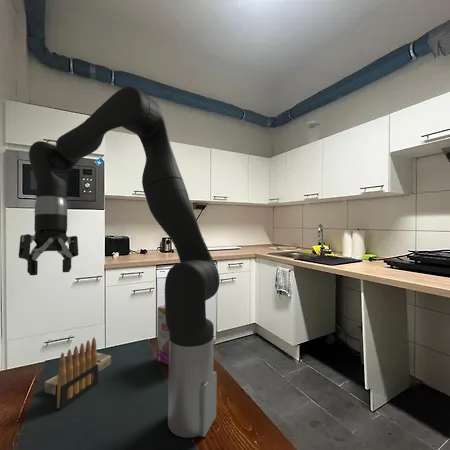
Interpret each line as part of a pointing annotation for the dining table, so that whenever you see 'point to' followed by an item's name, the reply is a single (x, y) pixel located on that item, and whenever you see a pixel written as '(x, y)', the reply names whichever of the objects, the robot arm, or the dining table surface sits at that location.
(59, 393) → the ammunition clip
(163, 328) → the candy bar box
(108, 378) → the dining table surface
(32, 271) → the robot arm
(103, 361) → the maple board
